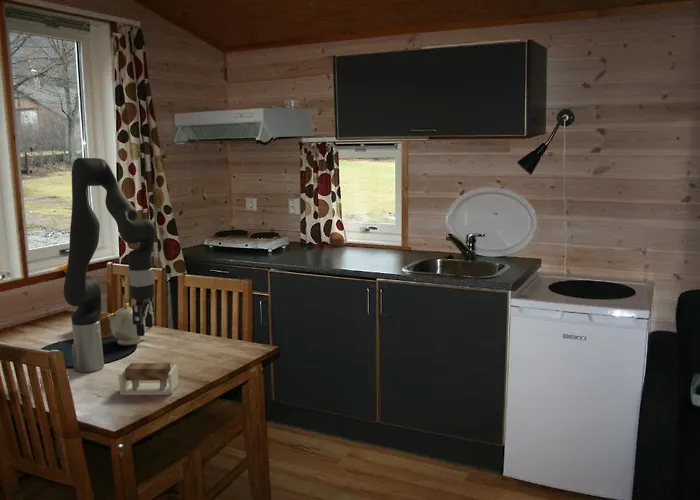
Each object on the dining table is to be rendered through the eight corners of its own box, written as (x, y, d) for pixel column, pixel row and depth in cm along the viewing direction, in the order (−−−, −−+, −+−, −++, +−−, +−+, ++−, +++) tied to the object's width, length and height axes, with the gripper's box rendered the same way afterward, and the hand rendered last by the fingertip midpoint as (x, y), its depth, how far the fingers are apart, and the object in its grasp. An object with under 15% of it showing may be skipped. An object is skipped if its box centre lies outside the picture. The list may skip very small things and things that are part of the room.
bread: (118, 336, 264) (116, 312, 262) (93, 342, 256) (90, 318, 254) (99, 326, 277) (97, 304, 275) (74, 332, 269) (72, 309, 267)
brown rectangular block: (170, 374, 210) (170, 362, 209) (166, 380, 205) (165, 368, 204) (131, 374, 210) (130, 363, 210) (126, 380, 205) (125, 368, 205)
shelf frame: (120, 395, 205) (118, 374, 203) (128, 385, 212) (127, 365, 211) (172, 394, 205) (170, 373, 203) (178, 384, 212) (177, 364, 211)
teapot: (115, 351, 245) (112, 310, 242) (105, 342, 256) (101, 302, 252) (161, 341, 256) (158, 302, 252) (149, 333, 266) (146, 295, 263)
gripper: (137, 277, 209) (140, 324, 212) (121, 288, 195) (125, 338, 198) (160, 277, 209) (163, 324, 212) (146, 288, 195) (149, 338, 198)
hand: (145, 331), depth 205 cm, fingers open, 8 cm apart
